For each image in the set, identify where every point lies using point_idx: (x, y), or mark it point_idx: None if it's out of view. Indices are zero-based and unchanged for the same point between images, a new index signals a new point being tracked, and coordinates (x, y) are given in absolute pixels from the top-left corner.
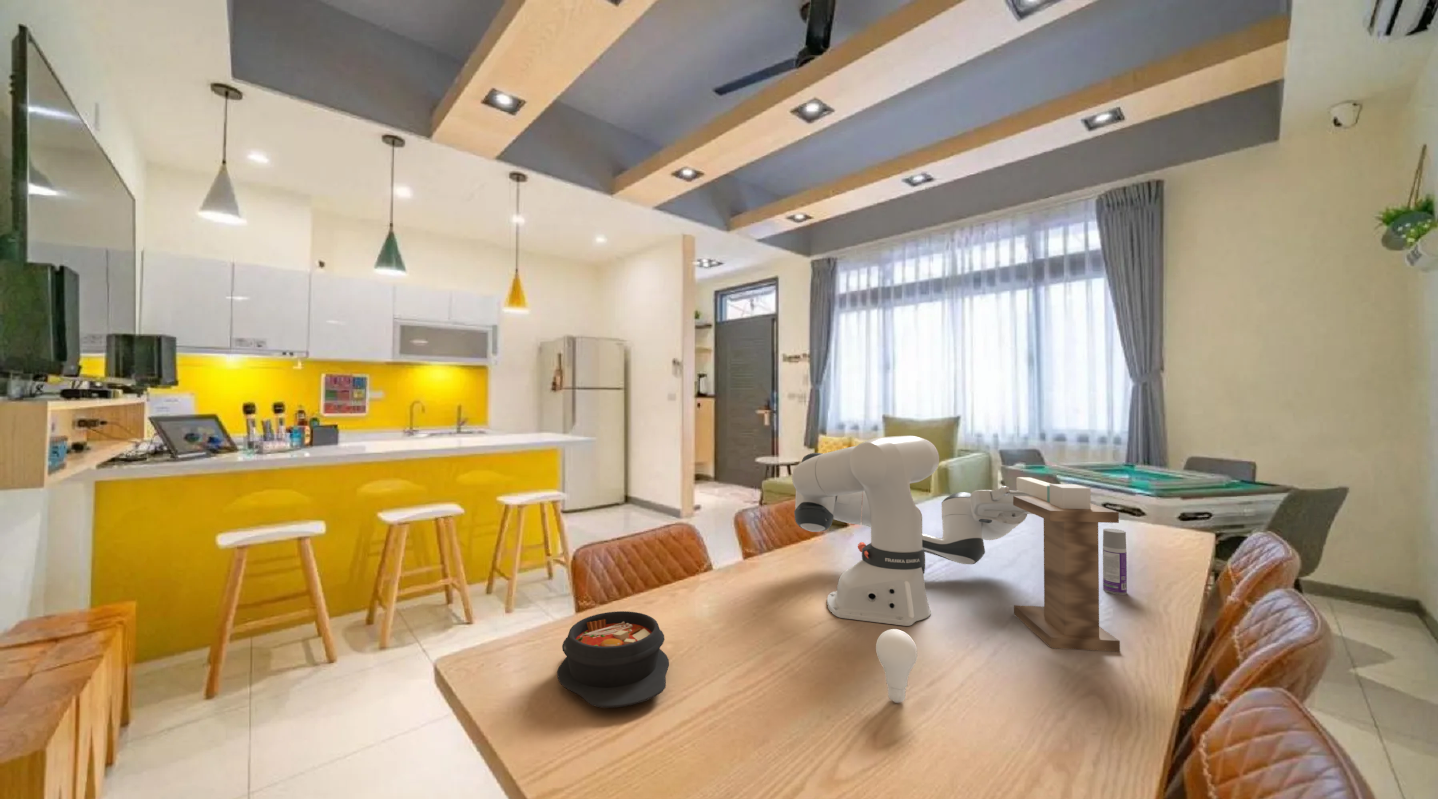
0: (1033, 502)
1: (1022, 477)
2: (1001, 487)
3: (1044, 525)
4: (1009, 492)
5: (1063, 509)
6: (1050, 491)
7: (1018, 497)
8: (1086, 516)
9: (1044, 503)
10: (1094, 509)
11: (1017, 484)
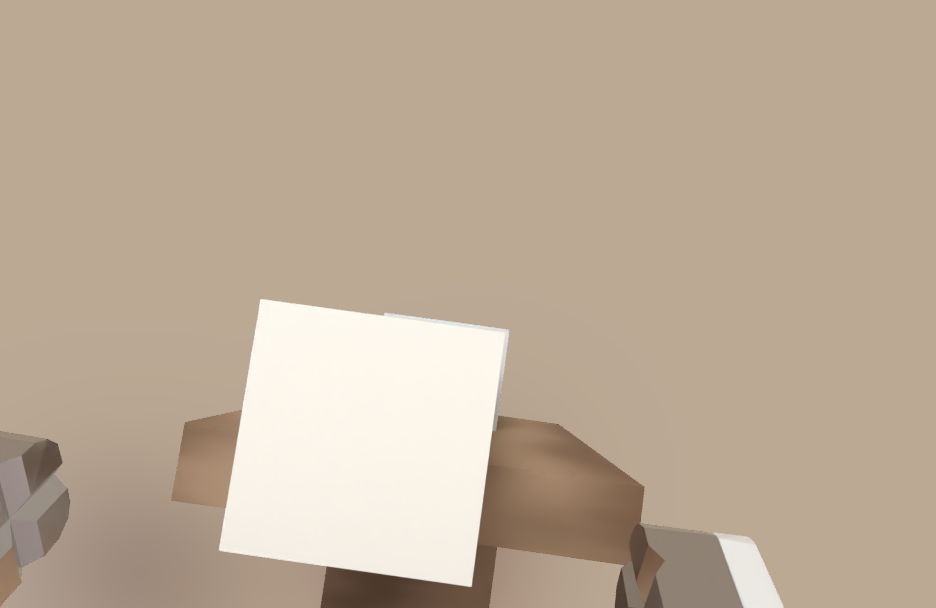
0: (567, 444)
1: (415, 321)
2: (762, 566)
3: (493, 566)
4: (627, 593)
5: (498, 418)
6: (504, 366)
7: (614, 473)
8: None
9: (520, 434)
10: None
11: (485, 464)
